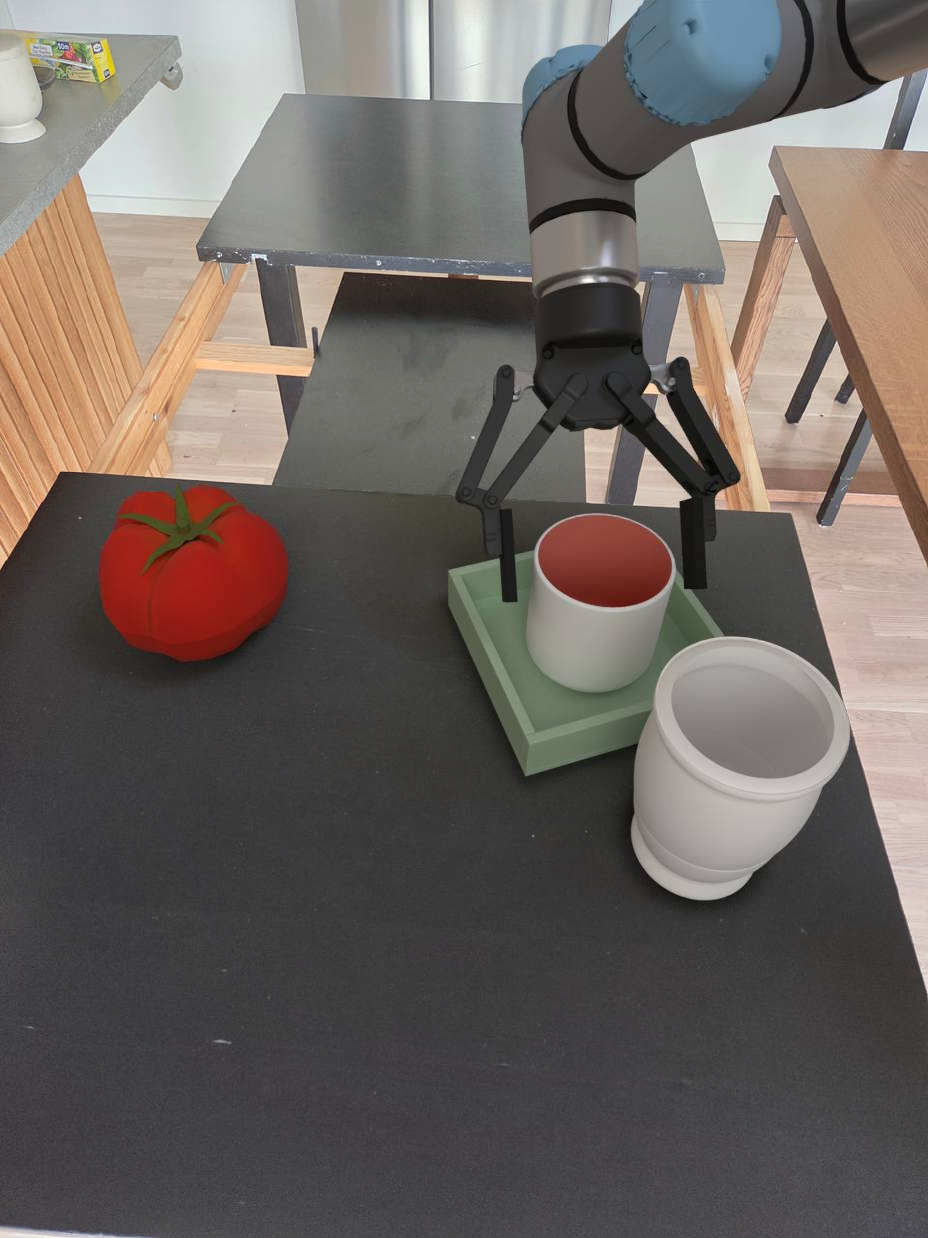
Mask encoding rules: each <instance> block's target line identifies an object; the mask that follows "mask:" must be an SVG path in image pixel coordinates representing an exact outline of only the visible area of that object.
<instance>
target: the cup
mask: <svg viewBox="0 0 928 1238" xmlns="http://www.w3.org/2000/svg"><path fill="white" fill-rule="evenodd" d="M644 525H645V524H643V523H641V522H639V521H636V520H634V519H631V518H628V517H625V516H622V515H616V514H611V513H599V512H598V513H596V512H595V513H594V512H593V513H582V514H576V515H573V516H569V517H566V518H564V519H561V520H559V521H557V522H555V523H554V524H552V525H551V526H549V527H548V528H547V529H546V530H544V532H543V533H542V534H541V535H540V537H539V538H538V540H537V541H536V543H535V547H534V549H533V550H534V556H533V566H532V576H531V586H530V596H529V606H528V616H527V625H526V644H527V648H528V651H529V654H530V656H531V658H532V660H533V661H534V663H535V664H536V666H537V667H538V668H539V669H540V670H541V671H542V672H543V673H544V674H545V675H546V676H547V677H548V678H550V679H551V680H553V681H554V682H556V683H558V684H560V685H562V686H564V687H567V688H569V689H573V690H576V691H581V692H589V693H602V692H610V691H614V690H618V689H620V688H623V687H625V686H627V685H629V684H631V683H632V682H634V681H635V680H637V679H638V678H639V677H640V676H641V675H642V674H643V673H644V672H645V670H646V669H647V668H648V666H649V664H650V662H651V660H652V657H653V654H654V650H655V647H656V643H657V640H658V636H659V633H660V629H661V625H662V622H663V618H664V615H665V611H666V607H667V604H668V600H669V597H670V593H671V590H672V586H673V583H674V579H675V574H676V570H677V565H676V560H675V556H674V554H673V551H672V549H671V548H670V547H669V545H668V544H667V542H666V541H665V540H664V539H663V538H662V537H661V536H660V535H659V534H658V533H656V532H655V531H654V530H653V529H651V528H650V527H648V526H647V525H645V526H644Z"/></svg>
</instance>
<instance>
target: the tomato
mask: <svg viewBox="0 0 928 1238" xmlns="http://www.w3.org/2000/svg"><path fill="white" fill-rule="evenodd" d="M174 491H175V492H174V493H175V499H174V498H173V497H171V496H170V494H168V493H167V492H166V491H143V490H138V491H136V492H135V493H133V494H132V495H130V496H129V497H127V498H126V499H124V500H123V501H122V502H121V505H120V507H119V509H118V511H117V513H116V515H110V517H112V518H115V521H114V522H115V523H114V528H113V530H112V531H111V533H110V535H109V536H108V538H107V540H106V541H105V542H104V545H103V547H102V548H101V550H100V555H99V564H98V580H99V589H100V598H101V602H102V606H103V612H104V615H105V616H106V617H107V618H108V620H109V621H110V622H111V623H112V625H113V626H114V627H115V629H116V630H117V631H118V633H119V634H120V635H121V636H122V637H123V639H124V641H126V643H127V644H128V645H129V646H132V647H134V648H136V649H138V650H141V651H145V652H150V653H156V654H162V655H164V656H165V655H166V656H168V657H170V658H172V659H174V660H177V661H180V662H182V663H188V662H196V661H205V660H211V659H213V658H217V657H219V656H222V655H224V654H227V653H230V652H233V651H235V650H236V649H238V648H239V646H240V645H241V644H242V643H243V642H244V641H246V639H247V638H249V636H251V635H252V634H253V633H255V632H257V631H258V630H260V629H261V628H264V627H266V626H267V625H269V624H271V623H272V621H273V620H274V618H275V616H276V615H277V613H278V611H279V610H280V608H281V606H282V605H283V602H284V600H285V599H286V596H287V594H288V581H289V569H290V568H289V566H290V559H289V556H288V553H287V550H286V547H285V545H284V542H283V540H282V538H281V536H280V533H279V532H278V531H277V528H275V527H274V525H272V524H271V523H270V522H268V521H267V520H266V519H264V518H263V516H261V515H260V514H256V513H253V512H252V513H251V512H250V511H249V510H248V509H247V508H246V507H245V506H243V504H244V503H247V502H248V500H247V501H238V500H237V499H236V498H235V497H234V496H233V495H232V494H230V493H228V492H227V491H225V490H223V489H222V488H219V487H217V486H211V485H206V484H198V485H195V486H193V487H191V488H188V489H186V490H185V491H182V488H181V485H180V482H179V481H178V480H177V481H176V487H175V490H174Z"/></svg>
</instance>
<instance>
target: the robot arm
mask: <svg viewBox="0 0 928 1238" xmlns="http://www.w3.org/2000/svg"><path fill="white" fill-rule="evenodd" d="M925 69H928V0H643V2H642V3H641V5H639V7H637V10H636V11H635V12H634V13H633V15H632V16H631V17H630V18H629V19H628V20H627V21H626V22H625V23H624V24H623V25H622V27H621V28H620V29H619V30H618V31H617V32H616V33H615V34H614V35H613V36H612V37H611V38H610V40H609V41H607V43H606V44H605V45H604V46H602V45H599V44H574V45H569V46H565V47H562V48H559V49H558V50H557V51H556V52H555V54H554V55H552V56H545V57H543V58H541V59H539V60H538V61H537V62H536V63H535V64H534V65H533V66H532V68H530V69H529V71H528V73H527V75H526V77H525V80H524V82H523V85H522V91H521V98H522V100H521V103H522V104H521V105H522V106H521V107H522V111H521V112H522V118H521V123H520V125H521V129H520V145H521V149H522V157H523V170H524V171H523V172H524V184H525V198H526V210H527V211H526V212H527V223H528V231H529V249H530V268H531V291H532V292H531V293H532V295H533V297H534V298H536V300H538V301H536V303H535V305H534V306H533V321H534V326H533V327H534V338H535V339H534V340H535V341H534V342H535V357H536V363H535V368H534V370H533V371H532V370H519V369H514V368H513V367H512V366H511V365H510V364H502V365H500V366H499V367H498V369H497V371H496V374H495V376H494V378H493V382H492V383H493V384H492V404H491V406H490V409H489V411H488V413H487V416H486V418H485V421H484V423H483V426H482V427H481V431H480V433H479V435H478V438H477V440H476V443H475V445H474V447H473V450H472V452H471V454H470V457H469V459H468V462H467V464H466V467H465V470H464V472H463V473H462V476H461V478H460V481H459V483H458V486H457V488H456V490H455V494H454V497H455V498H454V499H455V501H456V502H457V503H459V504H461V505H467V506H470V507H473V508H476V509H477V510H478V511H479V512H480V514H481V521H482V522H481V523H482V541H483V550H484V552H485V554H486V556H487V557H492V556H493V557H494V556H499V557H498V559H499V558H500V574H501V589H502V602H506V603H510V602H518V597H517V581H516V565H515V555H516V551H515V538H514V537H515V536H514V519H513V508H501V504H502V502H503V501H504V499H505V498H507V496H508V494H509V493H510V492H511V490H512V489H513V488H514V486H515V485H516V483H517V482H518V481H519V479H521V476H522V475H523V474H524V473H525V471H526V470H527V468H528V467H529V466H530V464H531V463H533V460H534V459H535V457H536V456H537V455H538V454H539V453H540V451H541V450H542V448H543V447H544V446H545V444H546V443H547V441H548V440H549V438H550V437H551V436H552V434H554V432H555V431H556V429H557V428H559V426H560V427H562V428H563V429H566V430H568V431H569V433H574V432H582V431H585V430H588V429H593V430H598V431H608V430H609V431H611V430H613V429H615V428H616V427H619V426H620V425H621V426H623V428H624V429H625V430H626V431H627V432H628V433H629V434H631V435H632V436H634V437H636V439H637V440H638V441H639V442H640V443H641V444H642V445H643V446H644V447H645V448H646V450H648V452H649V453H650V454H651V455H652V456H653V457H654V458H655V460H656V461H658V462H659V464H660V465H661V466H662V467H663V468H664V469H665V470H666V471H667V473H669V474H670V476H671V477H672V478H673V479H674V480H675V481H676V483H678V485H680V487H682V489H683V490H684V491H685V492H686V493H687V494H688V495H689V497H690V498H686V499H683V500H679V506H678V507H679V521H680V522H679V523H680V540H681V541H680V542H681V560H682V561H681V563H682V578H683V580H684V589H691V590H695V591H697V590H707V589H708V578H707V577H708V575H707V560H706V558H707V557H706V543H708V542H715V540H716V537H717V534H718V533H717V516H716V515H717V513H716V497H717V495H718V494H719V493H720V492H721V491H724V490H727V489H728V488H730V487H733V486H735V485H738V483H740V481H741V478H742V475H741V472H740V470H739V469H738V466H737V465H736V463H735V461H734V458H733V457H732V455H731V454H730V452H729V450H728V448H727V446H726V444H725V442H724V441H723V439H722V437H721V435H720V433H719V432H718V430H717V428H716V426H715V424H714V423H713V421H712V419H711V417H710V415H709V413H708V412H707V409H706V408H705V406H704V404H703V402H702V401H701V398H700V397H699V395H698V393H697V391H696V389H695V387H694V383H693V378H692V377H693V376H692V371H691V364H690V361H689V359H688V358H687V357H685V356H677V357H676V358H674V359H673V360H672V361H670V362H665V363H660V364H653V365H649V364H648V362H647V360H646V358H645V354H644V336H643V321H642V320H643V319H642V318H643V317H642V300H641V294H640V293H639V292H638V291H637V290H636V289H635V288H636V287H637V286H638V285H639V283H640V280H641V275H640V263H639V261H640V260H639V249H638V237H637V234H638V233H637V213H636V202H635V201H636V194H635V193H636V191H635V189H636V188H635V187H636V186H635V185H636V181H638V180H639V179H641V178H642V177H644V176H646V175H647V174H649V173H650V172H652V171H653V170H654V169H655V168H657V167H658V166H660V164H662V163H663V162H665V161H666V160H667V159H669V158H670V157H672V155H674V154H675V153H677V152H678V151H680V150H681V149H682V148H684V147H686V146H687V145H690V144H692V143H694V142H697V141H699V140H703V139H707V138H710V137H714V136H718V135H722V134H727V133H730V132H735V131H739V130H742V129H746V128H750V127H754V126H757V125H761V124H766V123H769V122H772V121H773V120H774V121H775V120H778V119H783V118H786V117H787V118H788V117H791V116H795V115H799V114H804V113H807V112H813V111H816V110H817V111H818V110H827V109H833V108H837V107H841V106H843V105H846V104H850V103H853V102H856V101H858V100H860V99H862V98H864V97H866V96H868V95H871V94H872V93H874V92H876V91H877V90H879V89H880V88H882V87H883V86H884V85H886V84H888V83H890V82H893V81H896V80H898V79H902V78H904V77H906V76H909V75H912V74H914V73H917V72H919V71H922V70H925ZM649 384H653V385H654V386H655V387H656V389H657V391H658V393H659V394H660V395H662V396H665V397H666V400H667V403H668V405H669V407H670V409H671V410H670V411H672V413H673V415H674V417H675V418H676V421H677V422H678V424H679V427H680V428H681V429H682V431H683V433H684V435H685V437H686V439H687V441H688V442H689V444H690V446H691V448H692V450H693V451H694V453H695V455H696V457H697V459H698V461H699V463H698V461H697V460H696V459H695V458H694V456H692V455H691V454H690V452H689V451H688V450H687V449H686V448H685V447H684V446H683V445H682V444H681V442H679V441H678V439H676V437H675V436H674V435H673V434H672V432H670V431H669V430H668V428H667V427H666V426H665V425H664V424H663V423H662V422H661V421H660V419H658V418H657V413H656V412H655V411H654V410H653V408H652V407H651V406H650V405H649V404H648V403H647V402H646V401H645V399H644V398H643V397H642V396H643V394H644V393H645V391H646V389H647V388H648V386H649ZM529 389H531V391H532V393H534V395H535V396H536V397H537V398H538V400H539V401H540V403H541V404H542V405H543V406H544V408H545V409H546V411H545V412H544V414H542V416H541V417H540V419H539V420H538V421H537V422H536V424H535V425H534V427H533V428H532V429H531V431H530V433H528V435H527V437H525V439H524V440H523V442H522V443H521V444H520V446H519V447H518V449H517V450H516V451H515V452H514V454H513V455H512V457H511V458H510V460H509V461H508V462H507V463H506V465H505V466H504V468H503V469H502V470H501V472H499V474H498V476H497V477H496V478H495V480H494V481H493V482H492V484H490V486H489V488H488V489H484V488H481V487H479V485H480V482H481V481H482V478H483V475H484V473H485V471H486V468H487V466H488V463H489V461H490V459H491V456H492V455H493V451H494V449H495V446H496V444H497V441H498V439H499V437H500V435H501V432H502V430H503V427H504V425H505V423H506V420H507V418H508V416H509V413H510V410H511V409H512V408H511V407H512V405H513V403H517V402H519V401H520V400H522V397H523V396H524V393H525V391H526V390H529ZM700 464H701V465H700Z"/></svg>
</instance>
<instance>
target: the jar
mask: <svg viewBox="0 0 928 1238" xmlns="http://www.w3.org/2000/svg"><path fill="white" fill-rule="evenodd" d="M849 719H850V718H849V715H848V712H847V708H846V706H845V704H844V702H843V700H842V698H841V696H840V695H839V692H838V691H837V689H836V688H835V686H833V684H832V683H831V682H830V681H829V679H828V678H827V677H826V676H825V675H824V674H823V673H822V672H821V671H820V670H819V669H818V668H816V666H814V665H813V664H812V663H810V661H807V660H806V659H804V658H803V657H801V656H800V655H798V654H797V653H795V652H793V651H791V650H789V649H787V648H785V647H782V646H780V645H777V644H775V643H772V642H769V641H766V640H762V639H757V638H753V637H744V636H725V637H718V638H711V639H707V640H703V641H700V642H697V643H695V644H692V645H690V646H688V647H686V648H685V649H683V650H681V651H680V652H679V653H677V654H676V655H675V656H674V657H673V658H672V659H671V660H670V661H669V662H668V663H667V665H666V666H665V667H664V669H663V671H662V673H661V675H660V677H659V680H658V682H657V685H656V688H655V692H654V698H653V710H652V712H651V714H650V716H649V718H648V720H647V722H646V724H645V726H644V729H643V731H642V734H641V737H640V740H639V743H637V747H636V753H635V758H634V767H633V810H634V812H633V813H634V814H633V815H632V819H631V824H630V825H631V826H630V839H631V844H632V848H633V851H634V854H635V856H636V859H637V860H638V862H639V864H640V866H641V867H642V869H643V870H644V871H645V872H646V874H647V875H648V876H649V877H650V878H651V879H652V880H653V881H655V883H657V884H658V885H659V886H660V887H662V888H664V889H665V890H667V891H668V892H671V893H672V894H675V895H677V896H679V897H683V898H686V899H690V900H695V901H714V900H720V899H723V898H726V897H728V896H731V895H733V894H735V893H736V892H737V891H739V890H741V888H743V887H744V886H745V885H746V884H747V883H748V882H749V880H750V878H751V877H752V876H753V873H754V872H756V871H758V870H759V869H761V868H762V867H763V866H764V865H766V864H767V863H768V862H769V861H770V860H771V859H772V858H774V856H775V855H777V854H778V853H779V852H780V851H782V850H783V849H784V848H785V847H786V846H787V845H788V844H789V843H791V841H792V840H794V838H795V837H796V836H797V835H798V834H799V833H800V831H801V830H802V829H803V828H804V826H805V824H806V823H807V822H808V820H809V818H810V817H811V815H812V813H813V811H814V809H815V807H816V805H817V803H818V800H819V798H820V796H821V793H822V790H823V787H824V786H825V785H826V784H827V783H828V782H830V780H831V779H832V778H833V777H834V776H835V774H836V773H837V772H838V770H839V769H840V767H841V765H842V764H843V761H844V759H845V757H846V755H847V753H848V750H849V746H850V740H851V727H850V726H851V725H850V720H849Z"/></svg>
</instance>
